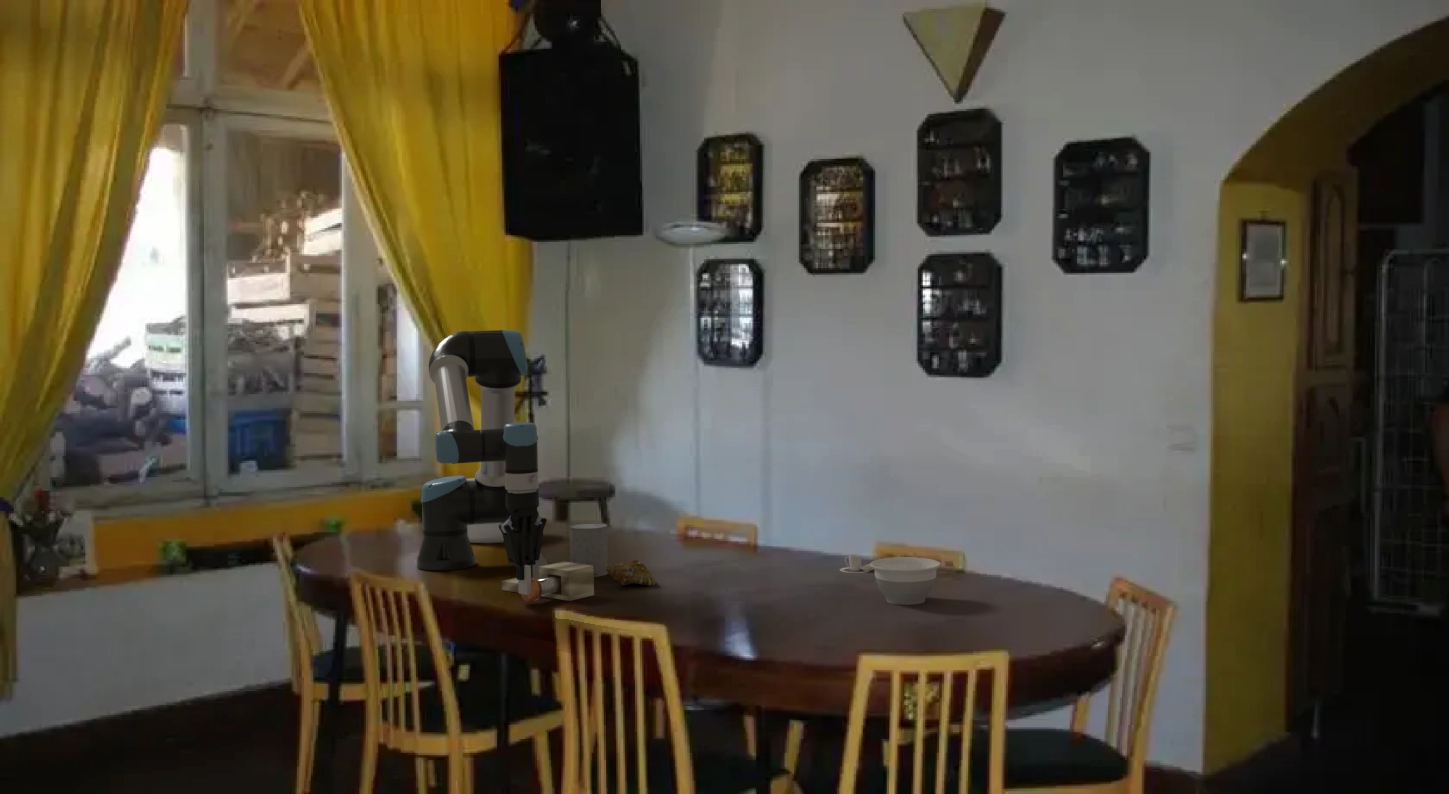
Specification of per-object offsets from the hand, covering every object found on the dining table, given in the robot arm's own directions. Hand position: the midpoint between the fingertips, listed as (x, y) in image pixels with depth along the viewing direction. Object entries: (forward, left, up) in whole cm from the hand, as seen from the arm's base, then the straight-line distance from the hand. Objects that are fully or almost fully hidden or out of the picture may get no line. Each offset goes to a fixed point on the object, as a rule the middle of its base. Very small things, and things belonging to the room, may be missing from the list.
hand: (525, 593), depth 332 cm
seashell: (+4, +31, -3) cm, 31 cm away
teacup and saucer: (+41, +75, -4) cm, 86 cm away
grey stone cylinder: (-15, +36, -3) cm, 39 cm away
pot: (-79, +61, -3) cm, 100 cm away
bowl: (+69, +52, -3) cm, 87 cm away
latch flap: (-11, +13, +3) cm, 17 cm away
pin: (0, +8, -2) cm, 8 cm away
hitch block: (-6, +13, -3) cm, 15 cm away
